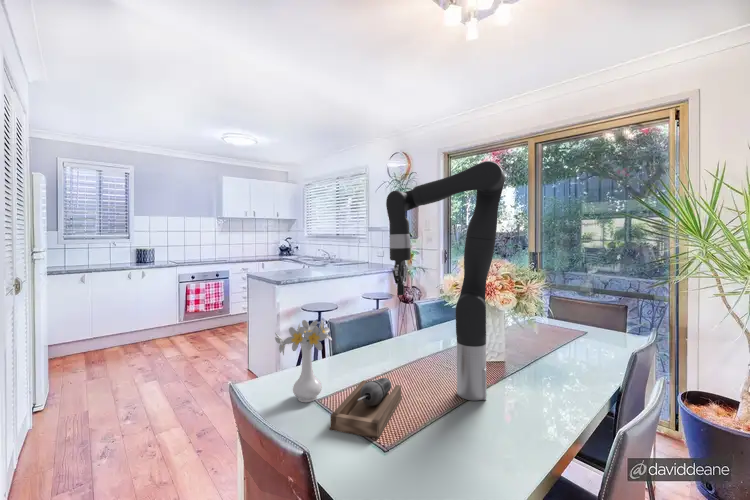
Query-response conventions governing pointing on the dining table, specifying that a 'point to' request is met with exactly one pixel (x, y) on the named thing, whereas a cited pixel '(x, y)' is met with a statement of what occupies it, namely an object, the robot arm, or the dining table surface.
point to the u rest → (365, 413)
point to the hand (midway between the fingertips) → (400, 294)
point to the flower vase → (306, 357)
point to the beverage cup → (375, 391)
